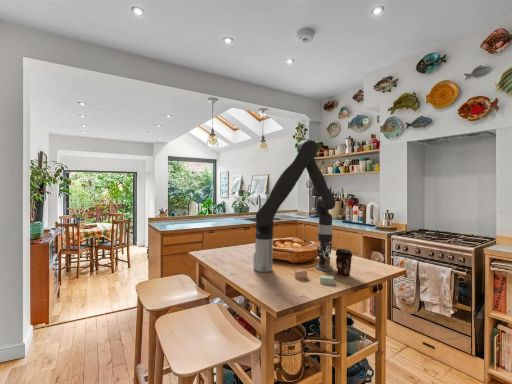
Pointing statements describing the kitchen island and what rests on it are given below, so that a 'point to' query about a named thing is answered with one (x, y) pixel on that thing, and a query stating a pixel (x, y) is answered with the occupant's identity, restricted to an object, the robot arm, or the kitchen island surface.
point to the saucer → (324, 268)
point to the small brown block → (301, 274)
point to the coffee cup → (343, 262)
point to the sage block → (326, 279)
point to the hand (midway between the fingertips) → (324, 262)
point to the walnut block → (325, 262)
